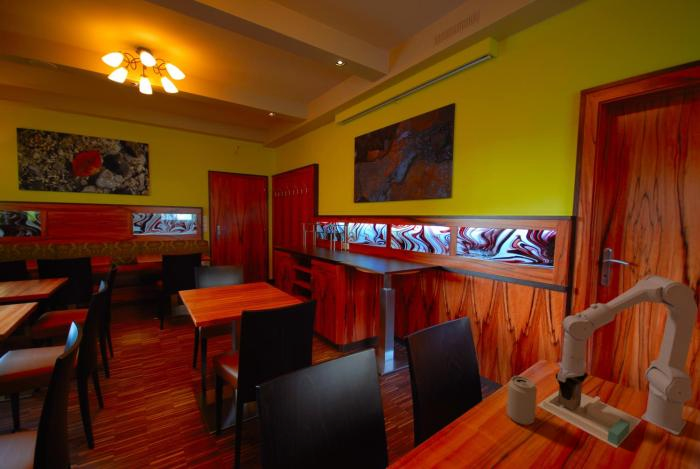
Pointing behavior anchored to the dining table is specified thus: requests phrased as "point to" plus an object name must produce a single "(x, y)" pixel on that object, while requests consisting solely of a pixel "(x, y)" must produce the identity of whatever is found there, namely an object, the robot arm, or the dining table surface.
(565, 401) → the brown rectangular block
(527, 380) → the can
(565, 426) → the dining table surface
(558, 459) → the dining table surface
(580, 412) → the white tray
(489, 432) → the dining table surface
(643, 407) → the dining table surface
